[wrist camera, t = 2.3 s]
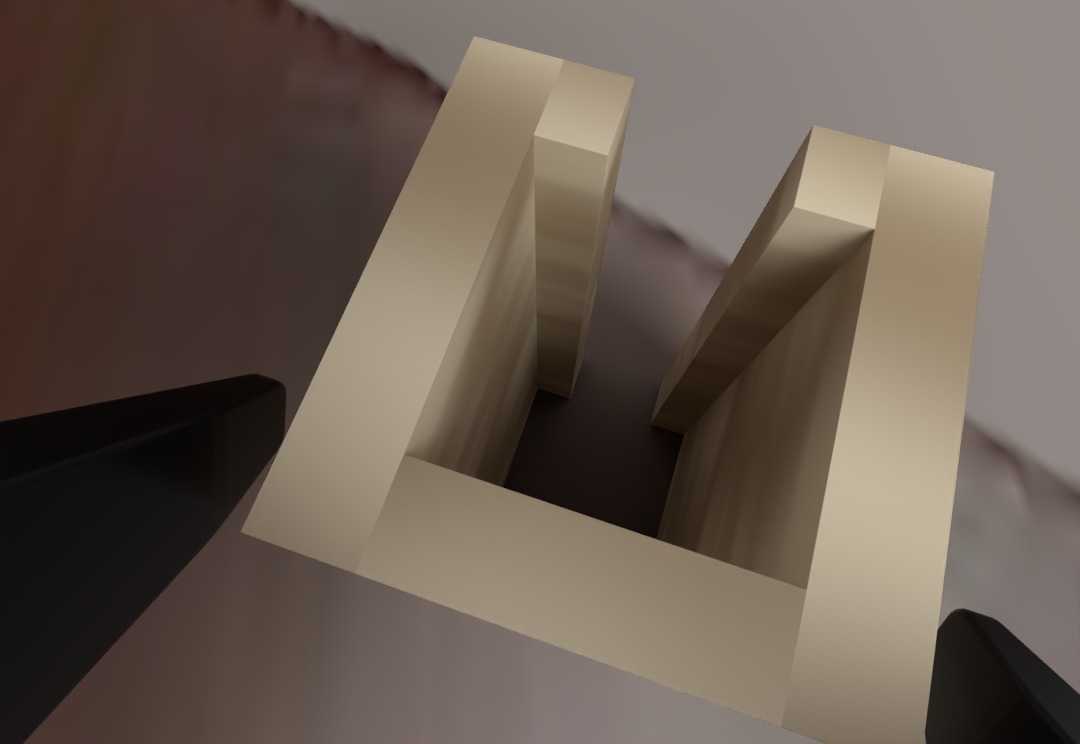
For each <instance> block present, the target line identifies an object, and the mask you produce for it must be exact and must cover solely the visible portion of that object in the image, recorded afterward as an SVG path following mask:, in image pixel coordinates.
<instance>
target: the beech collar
mask: <svg viewBox="0 0 1080 744" xmlns="http://www.w3.org/2000/svg"><path fill="white" fill-rule="evenodd" d="M634 83H635V78H632V77H628V76H625V75H621V74H617V73H613V72H609V71H605V70H602V69H598V68H594V67H590V66H586V65H582V64H579V63H575V62H571V61H567V60H563V59H560V58H556V57H551V56H548V55H544V54H540V53H537V52H533V51H529V50H525V49H521V48H517V47H513V46H510V45H506V44H502V43H498V42H494V41H491V40H486V39H483V38H479V37H475V36H474V38H473V40H472V42H471V44H470V46H469V49H468V51H467V53H466V55H465V57H464V59H463V61H462V63H461V65H460V68H459V70H458V72H457V74H456V76H455V78H454V80H453V82H452V85H451V87H450V89H449V91H448V93H447V95H446V97H445V99H444V101H443V104H442V106H441V108H440V110H439V112H438V114H437V116H436V118H435V121H434V123H433V125H432V127H431V129H430V131H429V133H428V135H427V138H426V140H425V142H424V144H423V146H422V148H421V150H420V152H419V155H418V157H417V159H416V161H415V163H414V165H413V167H412V169H411V172H410V174H409V176H408V178H407V180H406V182H405V184H404V186H403V189H402V191H401V193H400V195H399V197H398V199H397V201H396V203H395V205H394V208H393V210H392V212H391V214H390V216H389V218H388V220H387V222H386V225H385V227H384V229H383V231H382V233H381V235H380V237H379V239H378V242H377V244H376V246H375V248H374V250H373V252H372V254H371V256H370V259H369V261H368V263H367V265H366V267H365V269H364V271H363V273H362V276H361V278H360V280H359V282H358V284H357V286H356V288H355V290H354V293H353V295H352V297H351V299H350V301H349V303H348V305H347V307H346V309H345V312H344V314H343V316H342V318H341V320H340V322H339V324H338V326H337V329H336V331H335V333H334V335H333V337H332V339H331V341H330V343H329V346H328V348H327V350H326V352H325V354H324V356H323V358H322V360H321V363H320V365H319V367H318V369H317V371H316V373H315V375H314V377H313V380H312V382H311V384H310V386H309V388H308V390H307V392H306V394H305V397H304V399H303V401H302V403H301V405H300V407H299V409H298V411H297V413H296V416H295V418H294V420H293V422H292V424H291V426H290V428H289V430H288V433H287V435H286V437H285V439H284V441H283V443H282V445H281V447H280V450H279V452H278V454H277V456H276V458H275V460H274V462H273V464H272V467H271V469H270V471H269V473H268V475H267V477H266V479H265V481H264V484H263V486H262V488H261V490H260V492H259V494H258V496H257V498H256V501H255V503H254V505H253V507H252V509H251V511H250V513H249V515H248V517H247V520H246V522H245V524H244V526H243V528H242V530H241V533H244V534H247V535H250V536H252V537H255V538H258V539H261V540H264V541H266V542H269V543H272V544H275V545H277V546H280V547H283V548H286V549H288V550H291V551H294V552H297V553H300V554H302V555H305V556H308V557H311V558H313V559H316V560H319V561H322V562H324V563H327V564H330V565H333V566H336V567H338V568H341V569H344V570H347V571H349V572H352V573H355V574H358V575H361V576H363V577H366V578H369V579H372V580H374V581H377V582H380V583H383V584H385V585H388V586H391V587H394V588H397V589H399V590H402V591H405V592H408V593H410V594H413V595H416V596H419V597H421V598H424V599H427V600H430V601H433V602H435V603H438V604H441V605H444V606H446V607H449V608H452V609H455V610H457V611H460V612H463V613H466V614H469V615H471V616H474V617H477V618H480V619H482V620H485V621H488V622H491V623H494V624H496V625H499V626H502V627H505V628H507V629H510V630H513V631H516V632H518V633H521V634H524V635H527V636H530V637H532V638H535V639H538V640H541V641H543V642H546V643H549V644H552V645H554V646H557V647H560V648H563V649H566V650H568V651H571V652H574V653H577V654H579V655H582V656H585V657H588V658H591V659H593V660H596V661H599V662H602V663H604V664H607V665H610V666H613V667H615V668H618V669H621V670H624V671H627V672H629V673H632V674H635V675H638V676H640V677H643V678H646V679H649V680H651V681H654V682H657V683H660V684H663V685H665V686H668V687H671V688H674V689H676V690H679V691H682V692H685V693H688V694H690V695H693V696H696V697H699V698H701V699H704V700H707V701H710V702H712V703H715V704H718V705H721V706H724V707H726V708H729V709H732V710H735V711H737V712H740V713H743V714H746V715H748V716H751V717H754V718H757V719H760V720H762V721H765V722H768V723H771V724H773V725H776V726H779V727H782V728H784V729H787V730H790V731H793V732H796V733H798V734H801V735H804V736H807V737H809V738H812V739H815V740H818V741H821V742H823V743H826V744H923V742H924V734H925V726H926V718H927V710H928V702H929V694H930V686H931V678H932V670H933V662H934V654H935V645H936V637H937V629H938V621H939V613H940V605H941V597H942V589H943V581H944V573H945V565H946V557H947V549H948V541H949V533H950V524H951V516H952V508H953V500H954V492H955V484H956V476H957V468H958V460H959V452H960V444H961V436H962V428H963V420H964V412H965V403H966V394H967V387H968V379H969V371H970V363H971V354H972V347H973V339H974V331H975V322H976V314H977V307H978V299H979V290H980V282H981V274H982V266H983V258H984V250H985V242H986V234H987V225H988V218H989V210H990V202H991V201H990V200H991V194H992V186H993V178H994V172H992V171H988V170H984V169H981V168H977V167H973V166H969V165H965V164H962V163H958V162H954V161H950V160H946V159H942V158H938V157H934V156H931V155H927V154H923V153H919V152H915V151H912V150H908V149H904V148H900V147H896V146H893V145H889V144H885V143H881V142H877V141H873V140H870V139H866V138H862V137H858V136H854V135H850V134H847V133H843V132H839V131H835V130H831V129H827V128H824V127H820V126H816V125H813V127H812V128H811V130H810V131H809V133H808V135H807V137H806V138H805V140H804V142H803V143H802V145H801V147H800V149H799V150H798V152H797V154H796V155H795V157H794V159H793V160H792V162H791V164H790V166H789V167H788V169H787V171H786V172H785V174H784V176H783V178H782V179H781V181H780V183H779V184H778V186H777V188H776V189H775V191H774V193H773V194H772V196H771V198H770V200H769V201H768V203H767V205H766V207H765V208H764V210H763V212H762V213H761V215H760V217H759V218H758V220H757V222H756V223H755V225H754V227H753V229H752V230H751V232H750V234H749V235H748V237H747V239H746V240H745V242H744V244H743V246H742V247H741V249H740V251H739V252H738V254H737V256H736V258H735V259H734V261H733V263H732V264H731V266H730V268H729V269H728V271H727V273H726V275H725V276H724V278H723V280H722V281H721V283H720V285H719V286H718V288H717V290H716V292H715V293H714V295H713V297H712V298H711V300H710V302H709V304H708V305H707V307H706V309H705V310H704V312H703V314H702V315H701V317H700V319H699V321H698V322H697V324H696V326H695V327H694V329H693V331H692V332H691V334H690V336H689V338H688V339H687V341H686V343H685V344H684V346H683V348H682V350H681V351H680V353H679V355H678V356H677V358H676V360H675V361H674V363H673V365H672V367H671V368H670V370H669V372H668V373H667V375H666V377H665V378H664V380H663V382H662V384H661V388H660V391H659V395H658V398H657V402H656V405H655V409H654V412H653V416H652V419H651V423H650V424H651V425H654V426H658V427H661V428H664V429H667V430H670V431H673V432H676V433H680V434H683V435H684V437H683V440H682V444H681V448H680V452H679V455H678V459H677V463H676V467H675V470H674V474H673V478H672V482H671V485H670V489H669V493H668V497H667V500H666V504H665V508H664V512H663V515H662V519H661V523H660V527H659V530H658V534H657V538H656V539H654V538H651V537H648V536H645V535H642V534H639V533H636V532H633V531H630V530H627V529H624V528H621V527H618V526H615V525H612V524H609V523H607V522H604V521H601V520H598V519H595V518H592V517H589V516H586V515H583V514H580V513H577V512H574V511H571V510H568V509H565V508H562V507H559V506H556V505H553V504H550V503H547V502H544V501H541V500H538V499H535V498H532V497H529V496H526V495H523V494H520V493H517V492H515V491H512V490H509V489H506V488H503V486H504V483H505V480H506V477H507V474H508V472H509V469H510V466H511V463H512V460H513V457H514V454H515V452H516V449H517V446H518V443H519V440H520V437H521V434H522V432H523V429H524V426H525V423H526V420H527V417H528V414H529V412H530V409H531V406H532V403H533V400H534V397H535V394H536V392H537V389H541V390H544V391H548V392H551V393H554V394H557V395H560V396H563V397H566V398H571V395H572V392H573V389H574V386H575V383H576V380H577V377H578V374H579V371H580V368H581V365H582V362H583V359H584V353H585V348H586V343H587V337H588V332H589V326H590V321H591V316H592V310H593V305H594V299H595V294H596V289H597V283H598V278H599V272H600V267H601V262H602V256H603V251H604V245H605V240H606V235H607V229H608V224H609V218H610V213H611V208H612V202H613V197H614V191H615V186H616V180H617V175H618V170H619V164H620V159H621V154H622V148H623V143H624V137H625V132H626V127H627V121H628V116H629V110H630V104H631V100H632V94H633V89H634Z"/></svg>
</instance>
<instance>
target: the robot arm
mask: <svg viewBox="0 0 1080 744" xmlns="http://www.w3.org/2000/svg"><path fill="white" fill-rule="evenodd" d="M285 412H286V388H285V386H284V384H283V383H282V382H280V381H278V380H275V379H272V378H269V377H266V376H263V375H260V374H248V375H243V376H238V377H233V378H227V379H222V380H217V381H212V382H207V383H201V384H196V385H191V386H186V387H180V388H175V389H170V390H165V391H159V392H154V393H149V394H144V395H138V396H133V397H128V398H123V399H117V400H112V401H107V402H102V403H96V404H91V405H86V406H81V407H75V408H70V409H65V410H60V411H54V412H49V413H44V414H39V415H33V416H28V417H23V418H18V419H12V420H7V421H2V422H0V744H23V743H24V742H25V741H26V740H27V739H28V738H29V737H30V735H31V734H32V733H33V732H34V731H35V730H36V729H37V728H38V727H39V726H40V725H41V723H42V722H43V721H44V720H45V719H46V718H47V717H48V716H49V715H50V714H51V713H52V712H53V710H54V709H55V708H56V707H57V706H58V705H59V704H60V703H61V702H62V701H63V700H64V698H65V697H66V696H67V695H68V694H69V693H70V692H71V691H72V690H73V689H74V688H75V686H76V685H77V684H78V683H79V682H80V681H81V680H82V679H83V678H84V677H85V676H86V674H87V673H88V672H89V671H90V670H91V669H92V668H93V667H94V666H95V665H96V664H97V662H98V661H99V660H100V659H101V658H102V657H103V656H104V655H105V654H106V653H107V652H108V651H109V649H110V648H111V647H112V646H113V645H114V644H115V643H116V642H117V641H118V640H119V639H120V637H121V636H122V635H123V634H124V633H125V632H126V631H127V630H128V629H129V628H130V627H131V625H132V624H133V623H134V622H135V621H136V620H137V619H138V618H139V617H140V616H141V615H142V613H143V612H144V611H145V610H146V609H147V608H148V607H149V606H150V605H151V604H152V603H153V601H154V600H155V599H156V598H157V597H158V596H159V595H160V594H161V593H162V592H163V591H164V589H165V588H166V587H167V586H168V585H169V584H170V583H171V582H172V581H173V580H174V579H175V578H176V576H177V575H178V574H179V573H180V572H181V571H182V570H183V569H184V568H185V567H186V566H187V564H188V563H189V562H190V561H191V560H192V559H193V558H194V557H195V556H196V555H197V554H198V552H199V551H200V550H201V549H202V548H203V547H204V546H205V545H206V544H207V542H208V541H209V540H210V539H211V538H212V537H213V536H214V534H215V533H216V532H217V531H218V529H219V528H220V527H221V526H222V524H223V523H224V522H225V520H226V519H227V518H228V516H229V515H230V514H231V512H232V511H233V510H234V508H235V507H236V506H237V504H238V503H239V502H240V500H241V499H242V497H243V496H244V495H245V493H246V492H247V491H248V489H249V488H250V487H251V485H252V484H253V483H254V481H255V480H256V478H257V477H258V476H259V474H260V473H261V472H262V470H263V469H264V468H265V466H266V465H267V464H268V462H269V461H270V460H271V458H272V457H273V455H274V454H275V453H276V451H277V450H278V448H279V447H280V445H281V443H282V440H283V437H284V431H285ZM925 741H926V744H1080V694H1079V693H1077V692H1076V691H1075V690H1074V689H1073V688H1072V687H1071V686H1070V685H1069V684H1067V683H1066V682H1065V681H1064V680H1063V679H1062V678H1061V677H1060V676H1059V675H1058V674H1056V673H1055V672H1054V671H1053V670H1052V669H1051V668H1050V667H1049V666H1048V665H1046V664H1045V663H1044V662H1043V661H1042V660H1041V659H1040V658H1039V657H1038V656H1037V655H1035V654H1034V653H1033V652H1032V651H1031V650H1030V649H1029V648H1028V647H1027V646H1025V645H1024V644H1023V643H1022V642H1021V641H1020V640H1019V639H1018V638H1017V637H1016V636H1014V635H1013V634H1012V633H1011V632H1010V631H1009V630H1008V629H1007V628H1006V627H1004V626H1003V625H1002V624H1001V623H1000V622H999V621H997V620H995V619H994V618H992V617H988V616H985V615H982V614H979V613H976V612H973V611H970V610H967V609H956V610H954V611H953V612H951V613H950V614H949V615H948V617H947V618H946V619H945V621H944V622H943V623H942V625H941V626H940V627H939V628H938V630H937V637H936V645H935V654H934V662H933V670H932V678H931V686H930V694H929V702H928V710H927V718H926V726H925Z"/></svg>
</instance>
